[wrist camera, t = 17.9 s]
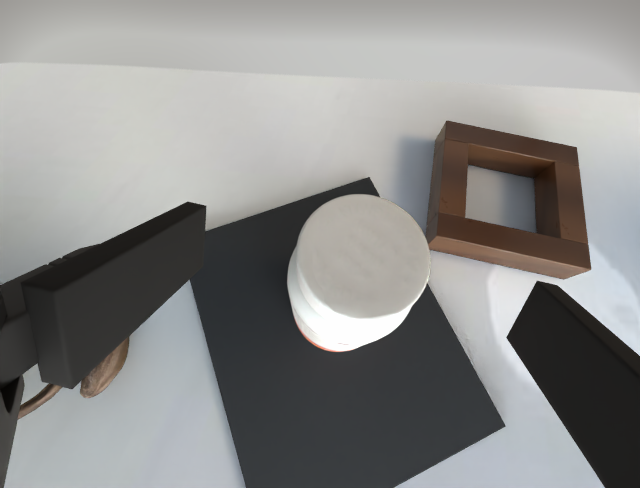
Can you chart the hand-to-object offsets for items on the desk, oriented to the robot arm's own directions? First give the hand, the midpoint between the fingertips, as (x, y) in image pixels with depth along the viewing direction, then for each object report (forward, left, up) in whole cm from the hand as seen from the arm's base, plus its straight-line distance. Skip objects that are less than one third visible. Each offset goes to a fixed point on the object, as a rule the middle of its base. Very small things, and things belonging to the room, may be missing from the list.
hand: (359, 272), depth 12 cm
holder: (+3, -16, -11) cm, 20 cm away
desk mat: (-1, +1, -11) cm, 11 cm away
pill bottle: (0, 0, -10) cm, 10 cm away
